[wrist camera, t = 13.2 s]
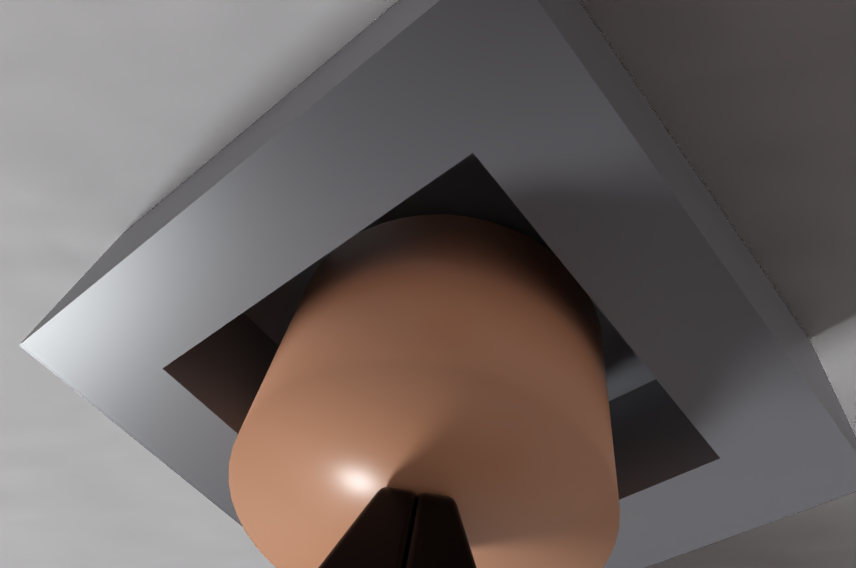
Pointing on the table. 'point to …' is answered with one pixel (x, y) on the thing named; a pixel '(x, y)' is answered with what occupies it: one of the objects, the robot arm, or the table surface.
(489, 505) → the button
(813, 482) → the button housing
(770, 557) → the table surface
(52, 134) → the table surface
